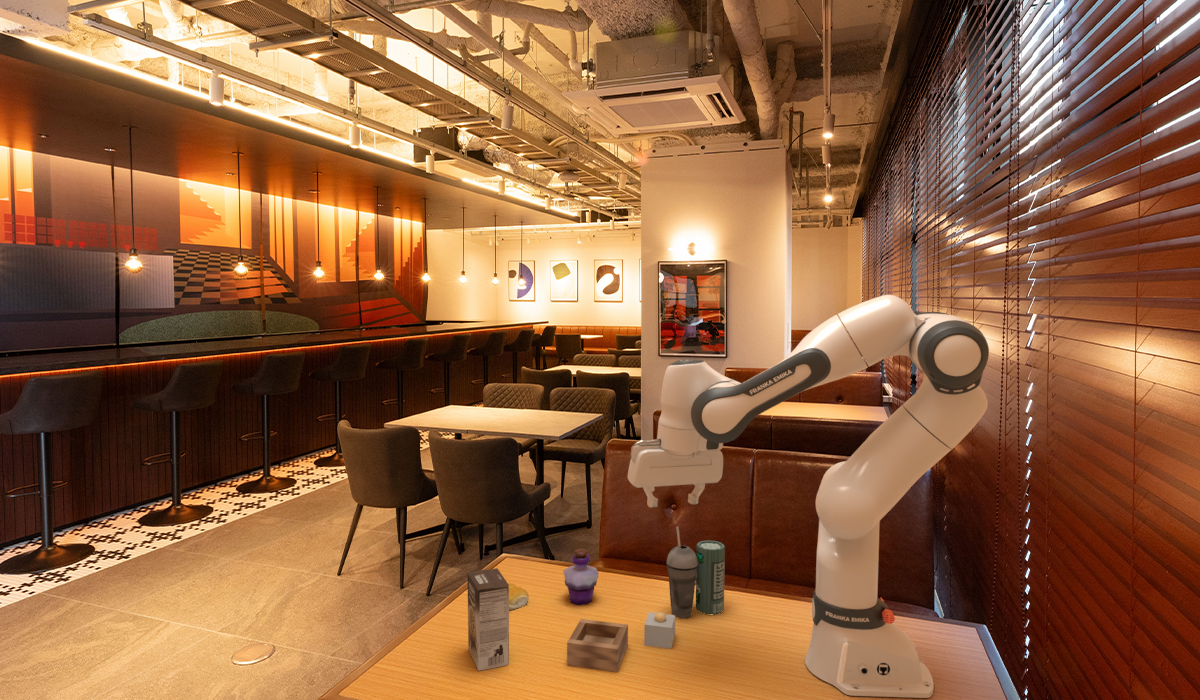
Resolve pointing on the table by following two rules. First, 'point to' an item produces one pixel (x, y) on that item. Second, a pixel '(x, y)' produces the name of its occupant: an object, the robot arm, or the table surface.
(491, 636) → the coffee box
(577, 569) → the potion bottle
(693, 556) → the beverage cup
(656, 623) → the lid
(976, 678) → the table surface
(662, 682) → the table surface
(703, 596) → the can
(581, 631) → the box
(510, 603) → the bread roll
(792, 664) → the table surface
